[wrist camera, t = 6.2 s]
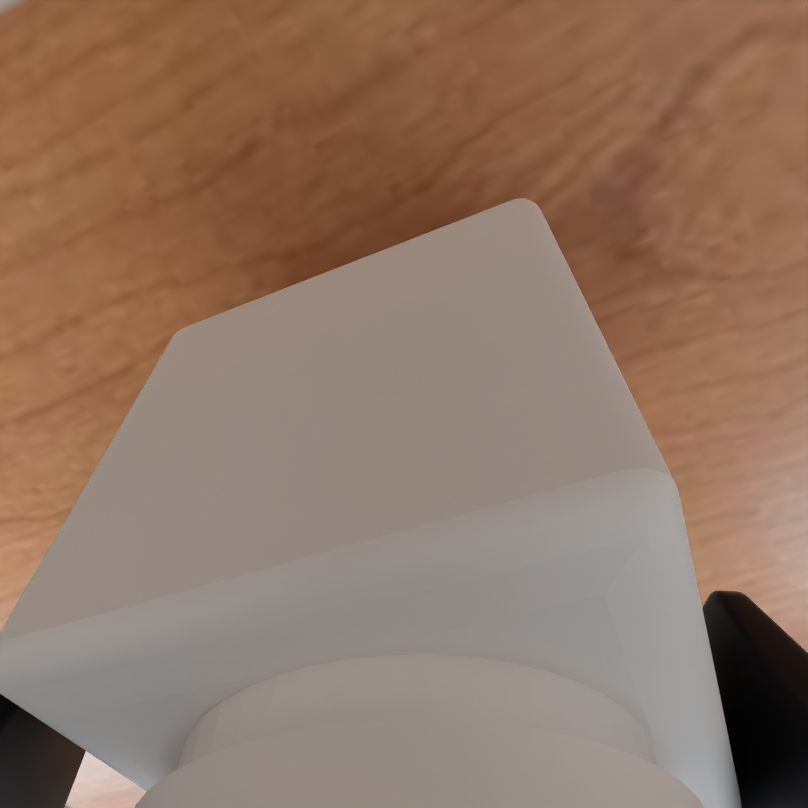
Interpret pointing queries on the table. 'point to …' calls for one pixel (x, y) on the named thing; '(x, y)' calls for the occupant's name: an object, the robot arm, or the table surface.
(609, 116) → the table surface
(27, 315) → the table surface
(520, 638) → the security camera
